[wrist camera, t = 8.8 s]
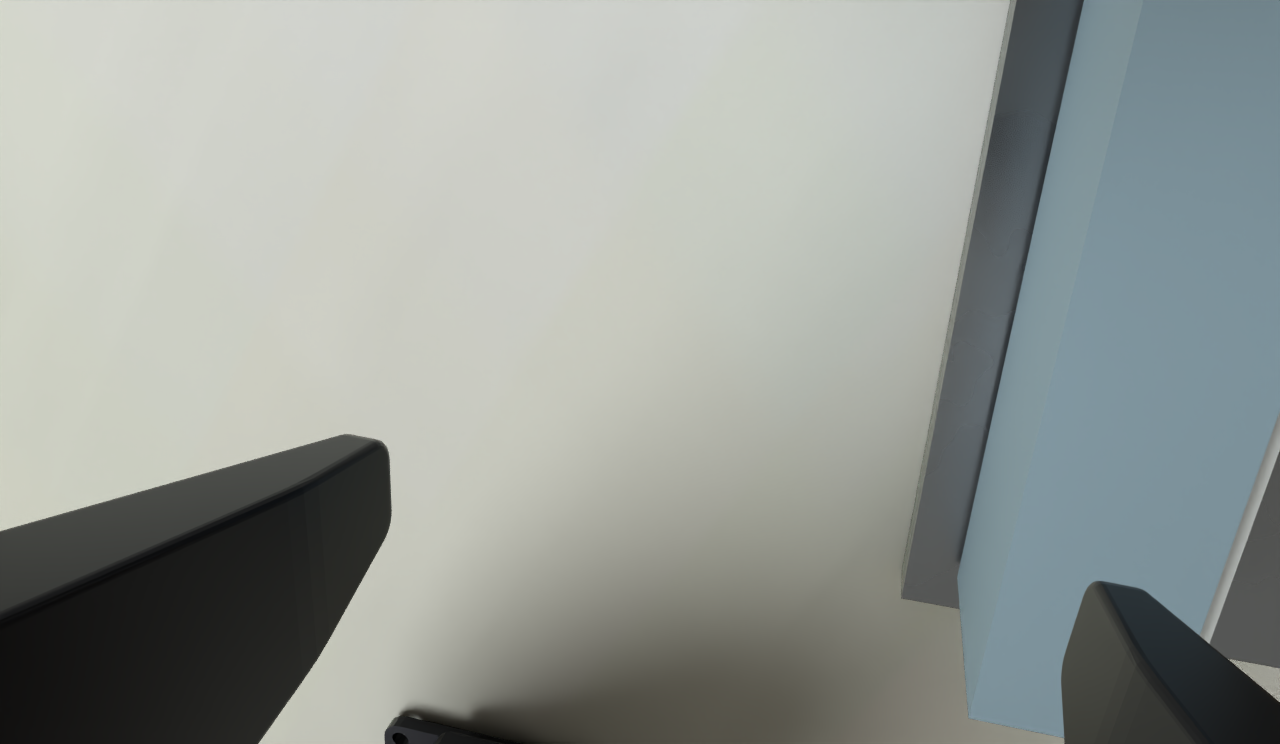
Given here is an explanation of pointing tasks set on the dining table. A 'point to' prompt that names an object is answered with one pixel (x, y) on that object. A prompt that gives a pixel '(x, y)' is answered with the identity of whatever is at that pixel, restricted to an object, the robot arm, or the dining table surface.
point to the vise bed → (981, 327)
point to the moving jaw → (1133, 347)
